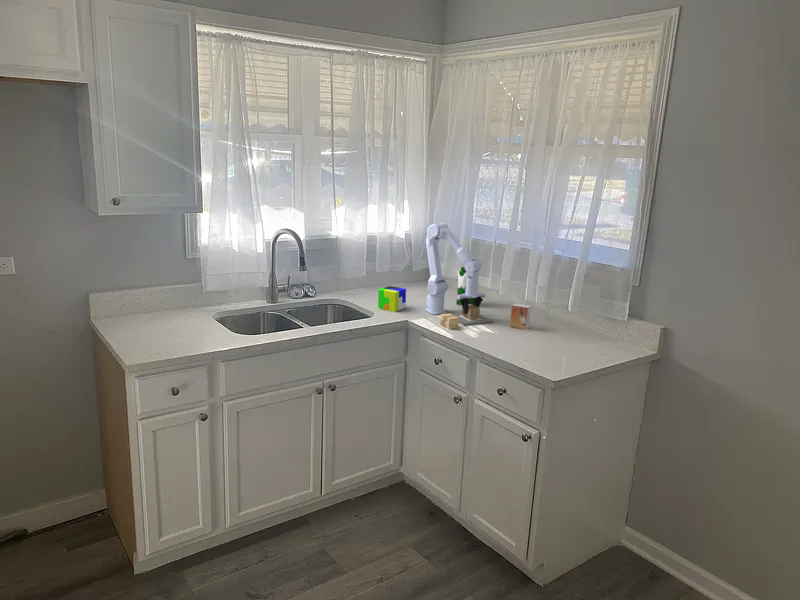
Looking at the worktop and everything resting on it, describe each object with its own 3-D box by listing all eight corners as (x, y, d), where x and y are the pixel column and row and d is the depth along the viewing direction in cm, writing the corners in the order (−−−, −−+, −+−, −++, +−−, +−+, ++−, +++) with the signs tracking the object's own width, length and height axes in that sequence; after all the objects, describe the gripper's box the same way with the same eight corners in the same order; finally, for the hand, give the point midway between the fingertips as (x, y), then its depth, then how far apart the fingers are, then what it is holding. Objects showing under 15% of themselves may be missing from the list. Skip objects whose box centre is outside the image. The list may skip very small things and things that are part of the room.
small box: (509, 327, 283) (511, 305, 281) (513, 324, 288) (514, 302, 285) (526, 329, 280) (528, 307, 277) (529, 326, 284) (531, 305, 282)
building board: (447, 316, 296) (447, 314, 296) (475, 313, 303) (475, 311, 303) (464, 325, 282) (464, 323, 282) (493, 322, 289) (493, 320, 289)
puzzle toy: (405, 308, 310) (406, 288, 307) (394, 312, 302) (395, 292, 299) (389, 304, 315) (389, 286, 312) (378, 308, 307) (378, 289, 304)
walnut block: (461, 314, 295) (462, 304, 293) (470, 314, 297) (470, 304, 295) (470, 319, 288) (470, 309, 286) (479, 318, 290) (479, 308, 289)
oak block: (440, 324, 283) (440, 314, 282) (449, 323, 286) (449, 313, 284) (448, 329, 276) (449, 318, 275) (458, 328, 279) (458, 317, 277)
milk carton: (453, 303, 321) (455, 266, 316) (466, 302, 326) (469, 265, 321) (464, 307, 314) (466, 269, 309) (477, 305, 319) (480, 268, 314)
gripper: (463, 288, 282) (461, 316, 285) (489, 286, 288) (487, 313, 291) (455, 284, 288) (453, 312, 291) (481, 282, 294) (479, 309, 298)
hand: (470, 312), depth 292 cm, fingers closed on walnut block, 5 cm apart
